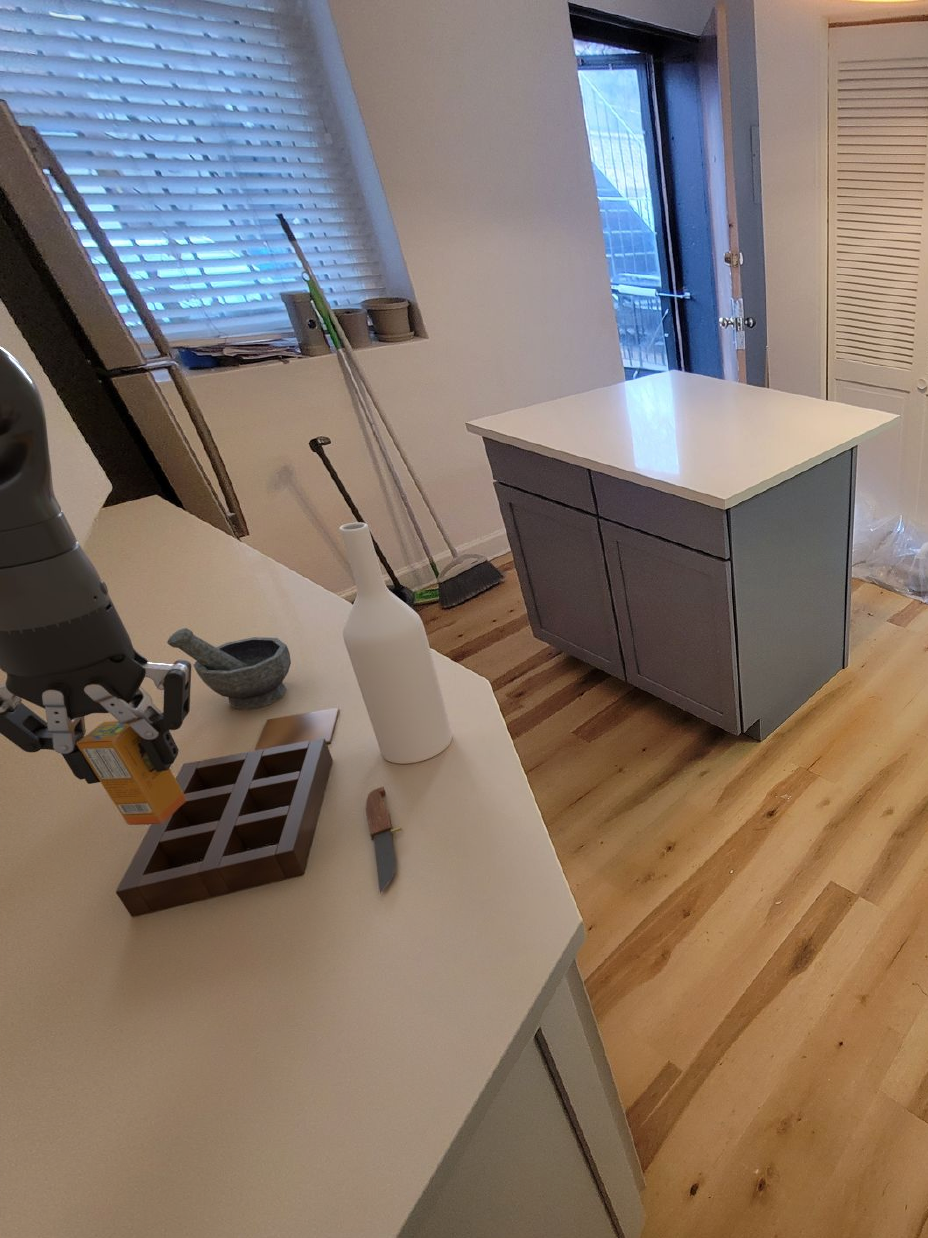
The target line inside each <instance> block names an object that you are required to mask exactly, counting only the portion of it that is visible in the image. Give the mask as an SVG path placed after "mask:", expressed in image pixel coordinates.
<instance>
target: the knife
mask: <svg viewBox="0 0 928 1238" xmlns="http://www.w3.org/2000/svg"><path fill="white" fill-rule="evenodd" d="M386 796H387V794H386V790H385V787H384V786H380V787H378V788H375V789H372V791H370V792H369V793H368V794H367V798H366V803H365V812H366V818H367V823H368V830H369V836H370V838H371V841H373V844H374V853H375V861H376V862H375V863H376V869H377V870H376V872H377V881H378V889H379V894H382V892H383V891H384V889H385V888H386V887H387V885H388V884H389V883H390V882H391V880H392V879H393V878H394V877H393V876H394V874H395V871H396V866H397V865H396V858H395V849H394V840H393V834H395V833H398V832H401V831H403V830H404V829H403V826H399V827H396V828H394V829H393V824H392V820H391V816H390V813H389V810H388V808H387V806H386V803H385V801H384V799H383V798H384V797H386Z"/></svg>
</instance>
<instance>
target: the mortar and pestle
mask: <svg viewBox="0 0 928 1238" xmlns="http://www.w3.org/2000/svg"><path fill="white" fill-rule="evenodd" d="M166 643H167V644H168V645H169V646H170V647H172V648H176V649H179V650H181V652H184V653H185V654H186V655H188V656H189V657H190V658H192V659H194V660H195V662H194V663H193V667H194V669H195V671H196V674H197V675H198V676H199V678H200V679H201V680H202V682H203V683H204V684H205V685H206V686H207V687H208V688H209V689H210V690H212V691H213V692H215V693H216V694H218V695H220V696H221V697H224V698H228V701H229V704H230V705H231V706H232V707H233V708H234V709H236V710H253V709H258V708H262V707H266V706H269V705H271V704H273V703H275V702H276V701H279V700H280V699H282V698H283V697H284V696H285V694H286V692H287V688H286V686H285V684H284V683H283V681H284V680H285V679H286V677H287V675H288V674H289V672H290V671H289V670H290V668H291V664H292V661H291V659H292V658H291V653H290V650H289V648H288V646H287V644H286V643H285V642H284V641H282V640H281V639H279V638H278V637H262V636H261V637H260V636H259V637H258V636H254V637H253V636H252V637H249V638H243V639H238V640H233V641H229V642H226V643H223V644H221V645H218V646H214V645H213V644H211V643H209V642H207V641H206V640H204V639H202V638H201V637H198V636H196V635H195V634H194V633H193V631H192V630H191V629H189V628H188V627H182V628H180V629H178V630H176V631H175V632H173V633H172V634H171V635H170V636H169V638H168V639H167V642H166Z"/></svg>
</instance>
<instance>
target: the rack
mask: <svg viewBox="0 0 928 1238" xmlns="http://www.w3.org/2000/svg"><path fill="white" fill-rule="evenodd" d="M333 761H334V759H333V757H332V754H331V752H330V748H329V746H328V744H327V743H326V741H325V738H322V739H316V740H311V741H305V742H299V743H294V744H289V745H283V746H278V747H272V748H267V749H261V750H256V751H254V750H251V751H246V752H241V753H234V754H230V755H223V756H218V757H212V758H207V759H202V760H197V761H190V762H185V763H183V764H182V765H181V767H180V768H179V771H178V773H177V775H176V777H175V779H176V781H177V782H178V784H179V786H180V788H181V790H182V791H183V793H184V795H185V797H186V799H187V800H186V802H185V803H184V804H183V805H181V806H180V807H179V808H178V809H177V810H176V811H175V812H174V813H173V814H172V815H171V817H170V818H169V819H168V820H167V821H166V822H165V823H161V824H150V825H149V827H148V829H147V831H146V833H145V835H144V837H143V838H142V840H141V842H140V845H139V847H138V848H137V850H136V852H135V855H134V856H133V858H132V860H131V862H130V863H129V865H128V867H127V869H126V871H125V873H124V875H123V877H122V878H121V881H120V882H119V884H118V886H117V888H116V890H115V894H116V895H117V897H118V898H119V900H120V901H121V902H122V905H123V906H124V907H125V910H126V911H127V912H128V914H129V915H130V917H131V918H134V917H137V916H142V915H147V914H149V913H154V912H159V911H162V910H167V909H170V908H174V907H178V906H182V905H186V904H190V903H195V902H198V901H199V902H200V901H202V900H206V899H210V898H215V897H219V896H223V895H227V894H231V893H235V892H239V891H245V890H248V889H252V888H256V887H260V886H263V885H267V884H272V883H275V882H276V883H277V882H280V881H284V880H286V879H291V878H295V877H300V876H303V875H305V872H306V868H307V863H308V860H309V856H310V851H311V848H312V843H313V840H314V836H315V832H316V828H317V824H318V820H319V817H320V813H321V808H322V805H323V801H324V796H325V792H326V789H327V784H328V781H329V780H328V779H329V776H330V773H331V770H332V765H333ZM277 843H278V844H277ZM256 848H257V849H256ZM246 850H247V851H246ZM194 862H195V863H194ZM185 864H186V865H185ZM177 866H178V867H177Z"/></svg>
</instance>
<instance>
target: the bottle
mask: <svg viewBox="0 0 928 1238" xmlns="http://www.w3.org/2000/svg"><path fill="white" fill-rule="evenodd" d="M338 529H339V533H340V536H341V540H342V544H343V547H344V550H345V553H346V556H347V560H348V563H349V566H350V569H351V573H352V576H353V581H354V585H355V587H356V597H355V599H354V601H353V604H352V605H351V608H350V610H349V613H348V614H347V617H346V619H345V622H344V625H343V629H342V638H343V641H344V645H345V648H346V651H347V654H348V657H349V660H350V664H351V667H352V670H353V673H354V675H355V678H356V681H357V684H358V687H359V690H360V694H361V697H362V699H363V702H364V706H365V709H366V711H367V714H368V717H369V721H370V722H371V726H372V730H373V732H374V735H375V739H376V741H377V744H378V747H379V750H380V755H381V756H382V757H383V758H384V760H386V761H388V762H390V763H394V764H400V765H404V764H406V765H407V764H415V763H420V762H423V761H426V760H429V759H431V758H433V757H436V756H437V755H439V754H441V753H442V752H443V751H445V750H446V749H447V748H448V747H449V746H450V744H451V742H452V740H453V731H452V727H451V723H450V719H449V715H448V711H447V708H446V705H445V701H444V696H443V694H442V689H441V686H440V682H439V678H438V674H437V671H436V670H437V669H436V666H435V663H434V659H433V655H432V652H431V647H430V643H429V639H428V636H427V633H426V628H425V626H424V622H423V620H422V619H421V616H420V615H419V614H418V613H417V612H416V611H415V610H414V609H413V608H412V607H411V606H410V605H408V604H407V603H406V602H404V601H403V600H402V599H401V598H399V597H398V596H397V595H396V594H395V593H393V591H391V590H389V588H388V586H387V585H386V582H385V580H384V576H383V573H382V570H381V567H380V564H379V563H380V562H379V559H378V557H377V556H378V555H377V553H376V549H375V546H374V542H373V538H372V535H371V531H370V529H369V526H368V524H367V523H365V522H359V521H357V522H356V521H355V522H348V523H344V524H343V525H341V526H340V527H339V528H338Z"/></svg>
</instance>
